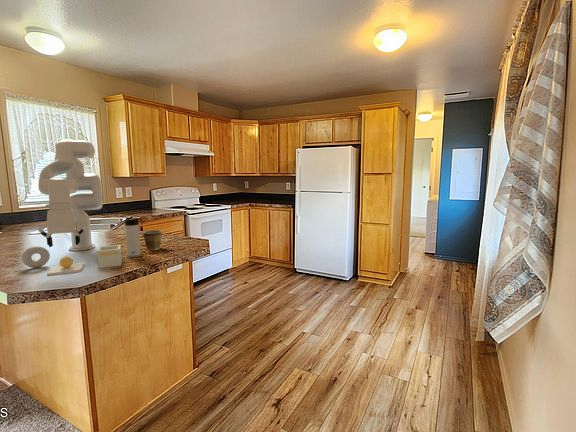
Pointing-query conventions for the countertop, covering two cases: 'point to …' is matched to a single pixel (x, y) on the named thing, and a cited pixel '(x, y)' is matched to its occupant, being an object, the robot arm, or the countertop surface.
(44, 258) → the donut
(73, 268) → the beige square board
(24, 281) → the countertop surface
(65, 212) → the robot arm
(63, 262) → the ochre ball
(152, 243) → the ceramic cup
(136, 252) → the travel mug
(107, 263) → the cream lidded box
